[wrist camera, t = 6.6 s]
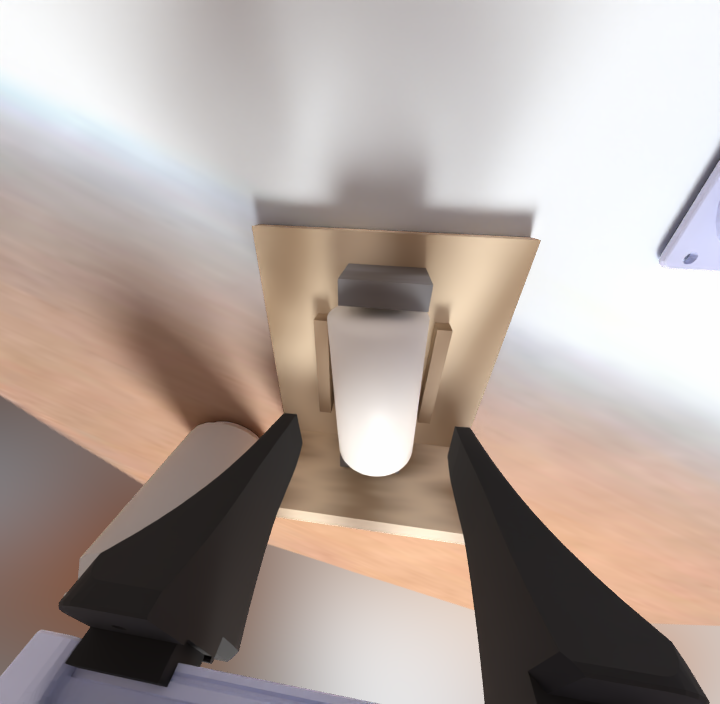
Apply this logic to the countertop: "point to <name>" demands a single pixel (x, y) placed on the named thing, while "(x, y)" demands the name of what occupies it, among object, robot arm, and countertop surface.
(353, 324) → the cylinder
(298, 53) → the countertop surface
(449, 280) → the roll holder
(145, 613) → the robot arm
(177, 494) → the can
